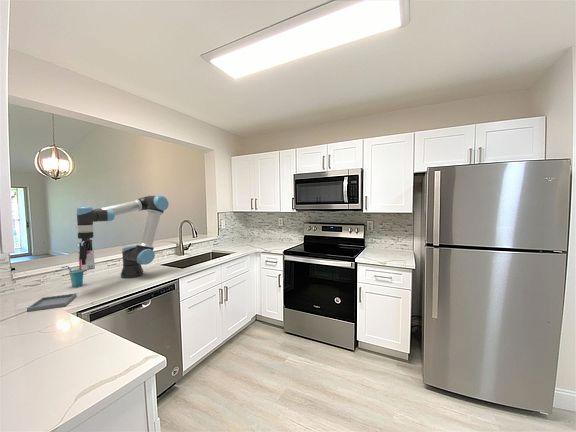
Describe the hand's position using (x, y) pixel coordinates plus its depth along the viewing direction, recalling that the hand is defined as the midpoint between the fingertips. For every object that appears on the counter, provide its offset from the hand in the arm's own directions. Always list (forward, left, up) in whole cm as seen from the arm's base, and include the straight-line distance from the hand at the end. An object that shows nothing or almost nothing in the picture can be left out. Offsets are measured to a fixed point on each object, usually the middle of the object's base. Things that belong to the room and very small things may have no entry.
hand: (87, 268), depth 151 cm
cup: (+12, -19, -16) cm, 28 cm away
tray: (+12, +12, -16) cm, 23 cm away
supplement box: (0, 0, -1) cm, 1 cm away
